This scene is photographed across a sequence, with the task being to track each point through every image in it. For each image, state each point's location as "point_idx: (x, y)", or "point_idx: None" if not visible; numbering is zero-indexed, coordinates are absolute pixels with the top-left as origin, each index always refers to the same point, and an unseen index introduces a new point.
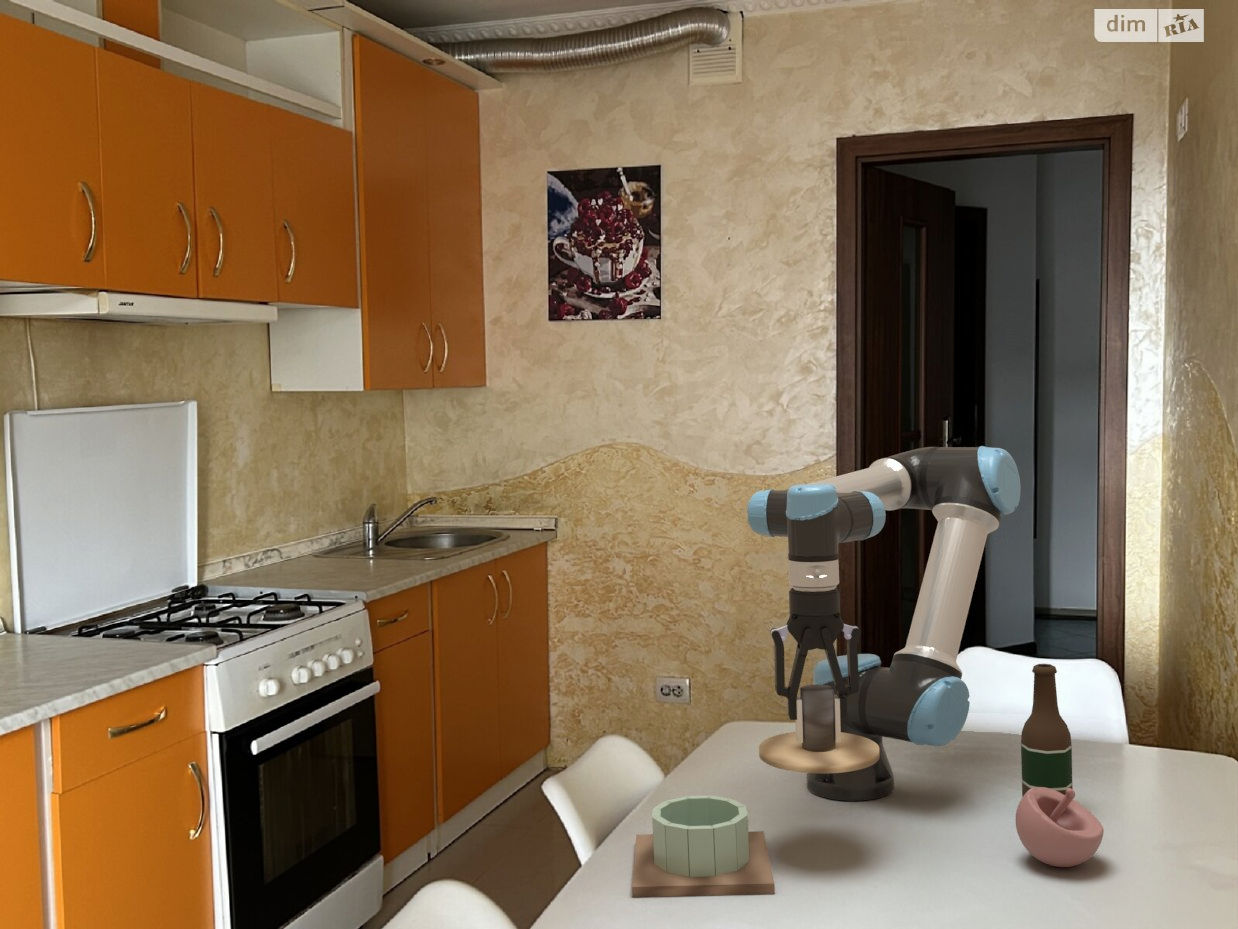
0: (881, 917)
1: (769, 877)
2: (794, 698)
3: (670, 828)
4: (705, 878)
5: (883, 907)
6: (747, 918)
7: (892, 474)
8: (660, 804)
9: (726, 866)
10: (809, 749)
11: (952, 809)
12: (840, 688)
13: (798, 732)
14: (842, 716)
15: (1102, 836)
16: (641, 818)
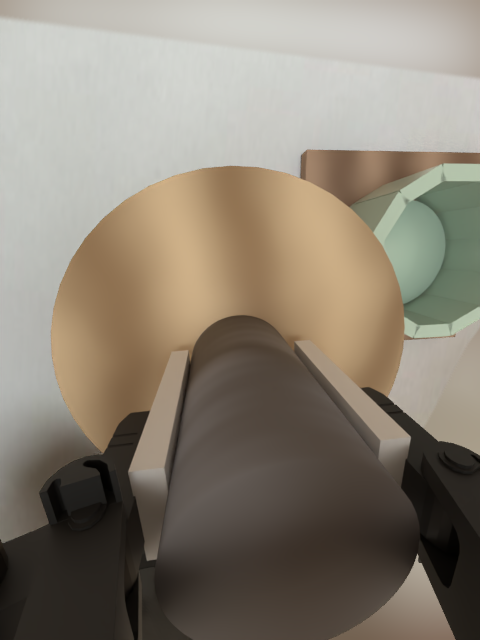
0: (154, 46)
1: (311, 173)
2: (433, 448)
3: None
4: (397, 177)
5: (149, 88)
6: (348, 66)
7: None
8: None
9: (372, 193)
10: (272, 326)
11: (33, 449)
12: (86, 566)
13: (321, 353)
14: (143, 417)
15: None
16: (425, 410)
